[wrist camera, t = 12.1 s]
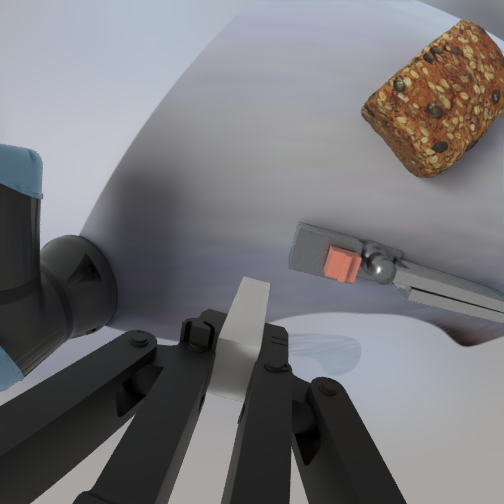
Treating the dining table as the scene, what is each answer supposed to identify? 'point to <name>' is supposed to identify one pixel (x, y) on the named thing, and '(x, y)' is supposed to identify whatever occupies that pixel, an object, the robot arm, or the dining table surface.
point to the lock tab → (342, 264)
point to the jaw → (432, 281)
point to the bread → (440, 100)
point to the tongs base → (315, 255)
